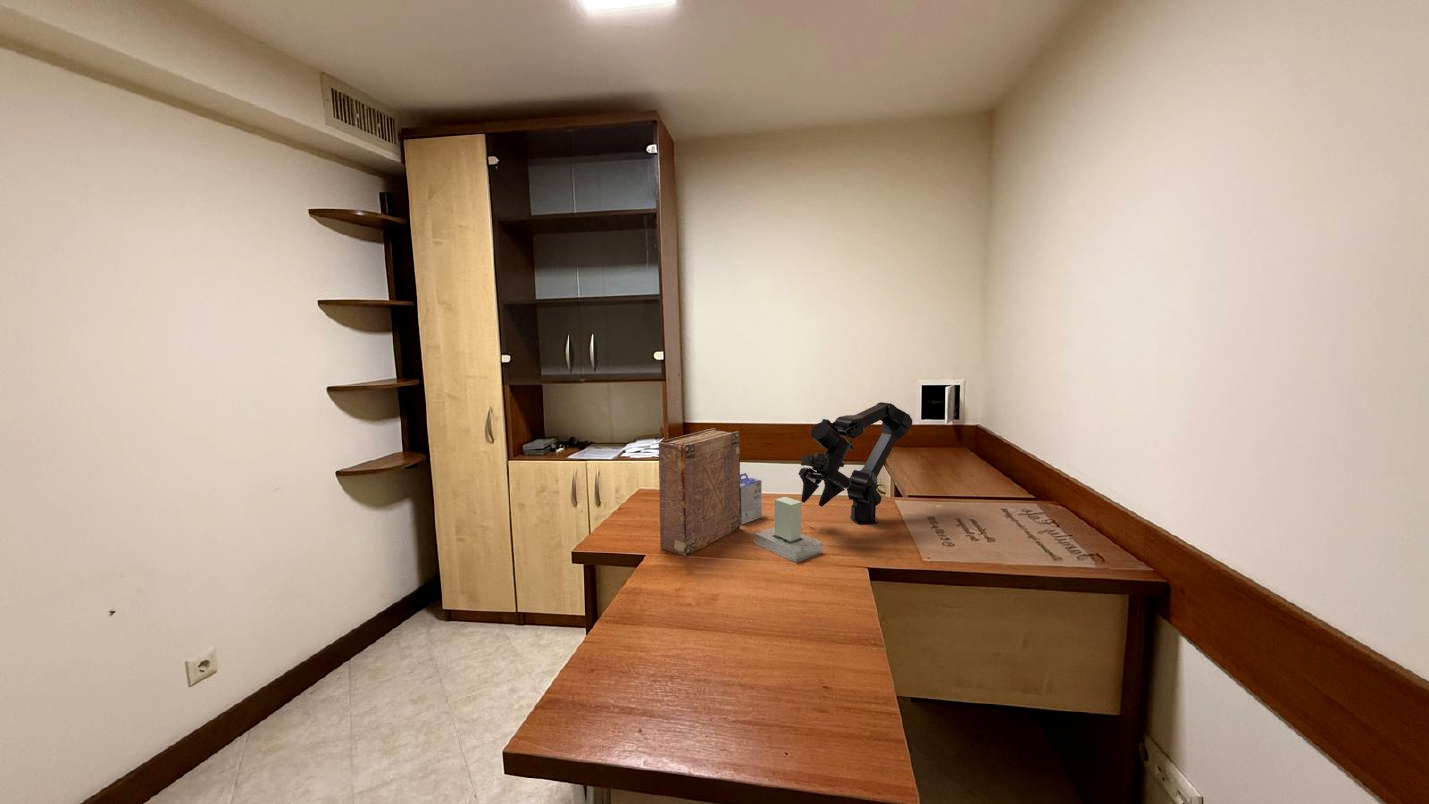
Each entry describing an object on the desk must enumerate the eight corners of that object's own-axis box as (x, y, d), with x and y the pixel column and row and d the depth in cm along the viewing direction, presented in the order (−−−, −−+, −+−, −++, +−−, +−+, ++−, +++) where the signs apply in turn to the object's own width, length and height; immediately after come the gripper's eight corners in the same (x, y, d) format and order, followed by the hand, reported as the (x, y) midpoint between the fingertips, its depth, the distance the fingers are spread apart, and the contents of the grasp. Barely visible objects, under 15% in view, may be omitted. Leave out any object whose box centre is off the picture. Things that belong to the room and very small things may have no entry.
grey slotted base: (779, 534, 155) (779, 525, 154) (821, 552, 142) (822, 542, 142) (754, 543, 149) (754, 533, 148) (796, 563, 136) (796, 551, 136)
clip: (784, 542, 149) (785, 496, 147) (800, 549, 144) (801, 502, 142) (774, 546, 146) (774, 499, 145) (790, 553, 142) (791, 505, 140)
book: (715, 522, 165) (715, 427, 161) (740, 528, 160) (740, 431, 156) (660, 549, 145) (658, 441, 141) (685, 557, 140) (684, 446, 136)
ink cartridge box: (749, 513, 173) (750, 470, 171) (762, 517, 169) (763, 473, 167) (728, 520, 166) (728, 476, 164) (741, 525, 162) (741, 479, 160)
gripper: (796, 441, 160) (773, 487, 157) (831, 442, 143) (807, 493, 139) (824, 459, 164) (802, 505, 160) (861, 462, 146) (838, 513, 143)
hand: (811, 504), depth 150 cm, fingers open, 9 cm apart
